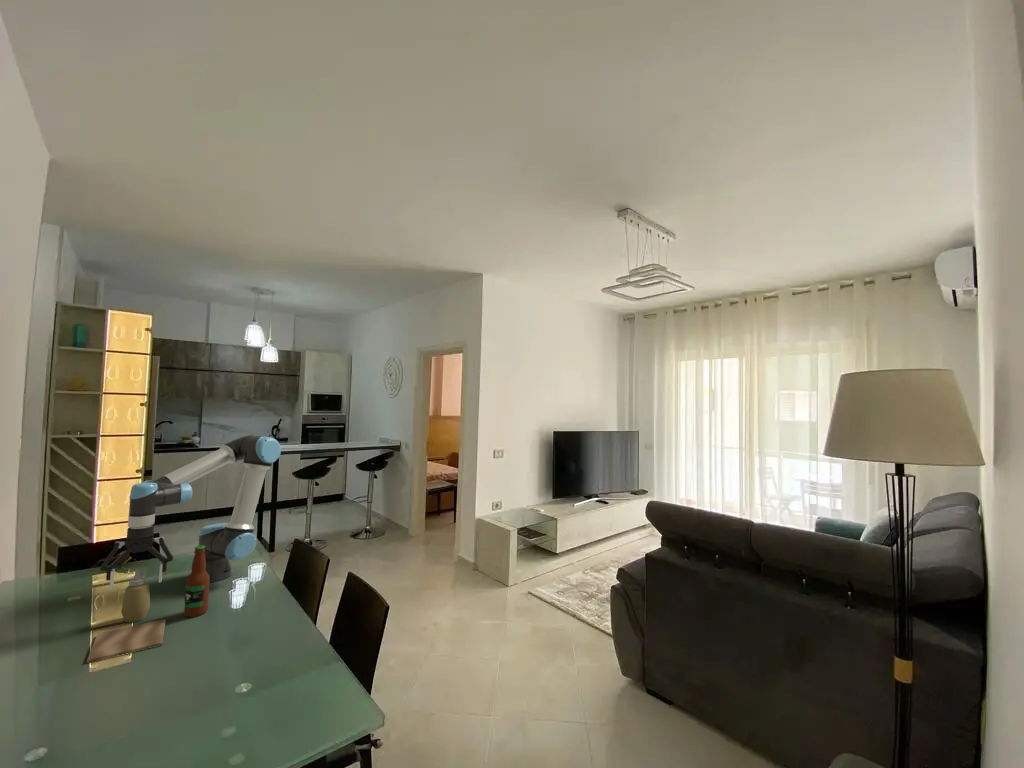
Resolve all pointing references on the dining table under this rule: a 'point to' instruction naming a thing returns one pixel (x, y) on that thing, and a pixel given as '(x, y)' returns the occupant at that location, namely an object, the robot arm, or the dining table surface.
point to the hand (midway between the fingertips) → (136, 584)
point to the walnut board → (127, 640)
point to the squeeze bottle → (136, 599)
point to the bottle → (197, 586)
